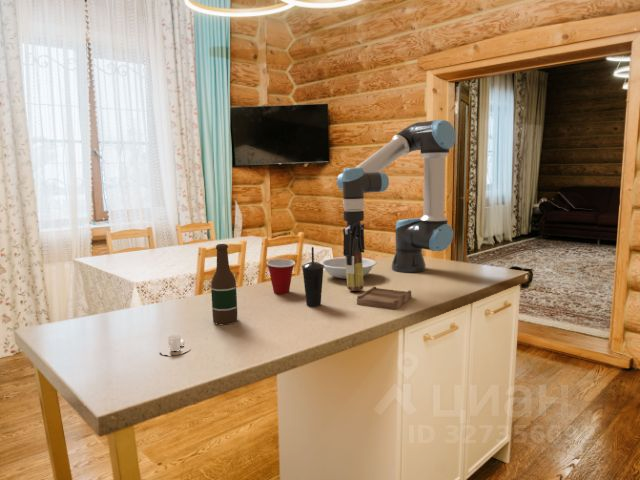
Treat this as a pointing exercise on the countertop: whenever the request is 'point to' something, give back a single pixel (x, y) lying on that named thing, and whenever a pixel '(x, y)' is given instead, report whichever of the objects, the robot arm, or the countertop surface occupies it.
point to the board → (383, 298)
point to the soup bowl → (344, 266)
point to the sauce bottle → (355, 270)
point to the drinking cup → (313, 282)
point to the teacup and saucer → (175, 342)
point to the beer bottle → (223, 289)
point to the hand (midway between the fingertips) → (354, 271)
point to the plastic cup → (281, 274)
